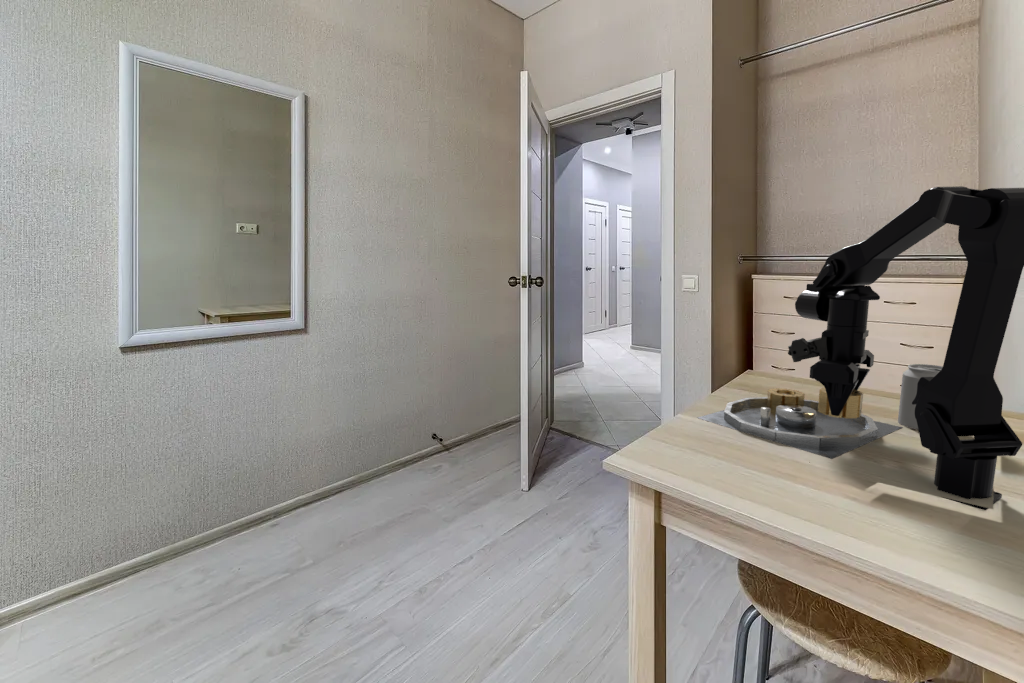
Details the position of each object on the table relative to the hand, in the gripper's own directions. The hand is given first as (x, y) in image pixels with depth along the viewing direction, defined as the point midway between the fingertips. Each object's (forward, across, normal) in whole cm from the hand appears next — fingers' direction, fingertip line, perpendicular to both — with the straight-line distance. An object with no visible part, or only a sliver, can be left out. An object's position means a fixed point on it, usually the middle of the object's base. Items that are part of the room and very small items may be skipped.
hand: (839, 411), depth 87 cm
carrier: (+5, 0, -7) cm, 8 cm away
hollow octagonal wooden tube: (0, 0, 0) cm, 0 cm away
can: (+5, -13, +11) cm, 18 cm away
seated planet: (+4, -6, -10) cm, 13 cm away
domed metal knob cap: (+4, 0, -7) cm, 8 cm away
